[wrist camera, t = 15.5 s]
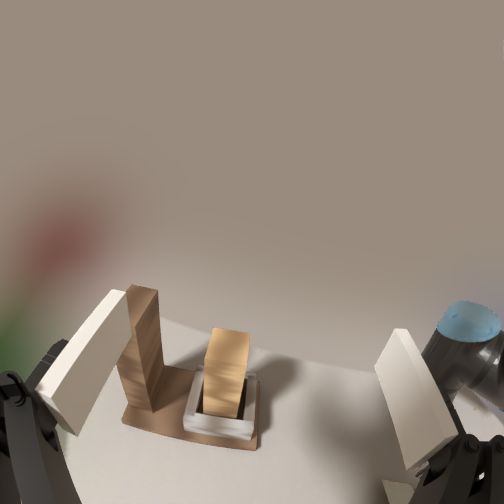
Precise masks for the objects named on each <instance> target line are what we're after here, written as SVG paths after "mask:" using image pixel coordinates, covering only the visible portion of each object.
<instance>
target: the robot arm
mask: <svg viewBox="0 0 504 504" xmlns="http://www.w3.org/2000/svg"><path fill="white" fill-rule="evenodd" d="M503 59H504V42H503ZM131 336H132V332H131V326H130V319H129V313H128V305H127V298H126V292H123V291H119V290H114V289H112V290H111V291H110V293H109V294H108V295H107V296H106V297H105V298H104V299H103V300H102V302H101V303H100V304H99V305H98V306H97V308H96V309H95V310H94V311H93V312H92V314H91V315H90V316H89V318H88V319H87V320H86V321H85V322H84V323H83V325H82V326H81V327H80V328H79V330H78V331H77V332H76V334H75V335H74V336H73V337H72V339H71V340H70V341H67V340H64V339H62V340H60V341H59V342H57V343H56V344H54V345H53V346H52V347H51V348H50V350H49V351H48V352H47V355H45V356H44V357H43V359H42V361H40V363H39V364H38V365H37V367H36V368H35V369H34V371H33V372H32V374H31V375H30V376H29V378H28V379H27V380H26V382H25V383H23V381H22V379H21V378H20V376H19V375H18V374H17V373H15V372H13V371H5V372H3V373H1V374H0V504H21V501H22V504H82V503H81V501H80V499H79V496H78V494H77V492H76V489H75V487H74V484H73V482H72V479H71V476H70V473H69V471H68V468H67V465H66V462H65V459H64V456H63V452H62V449H61V446H60V442H59V438H58V435H57V431H56V429H55V426H56V424H57V422H58V424H59V425H60V426H61V428H62V429H63V430H65V431H67V432H69V433H71V434H73V435H75V436H77V437H78V435H79V433H80V431H81V429H82V427H83V425H84V423H85V421H86V419H87V417H88V415H89V413H90V411H91V409H92V407H93V405H94V403H95V401H96V399H97V397H98V396H99V394H100V392H101V390H102V388H103V386H104V384H105V382H106V381H107V379H108V377H109V375H110V373H111V372H112V370H113V368H114V366H115V364H116V363H117V361H118V359H119V357H120V355H121V354H122V352H123V350H124V348H125V347H126V345H127V343H128V342H129V340H130V338H131ZM374 367H375V370H376V373H377V376H378V379H379V382H380V384H381V387H382V390H383V393H384V396H385V399H386V402H387V405H388V408H389V411H390V415H391V418H392V421H393V424H394V428H395V431H396V434H397V438H398V441H399V445H400V448H401V452H402V456H403V459H404V463H405V467H406V470H408V469H412V468H416V467H419V466H421V465H422V464H423V463H425V462H426V461H427V460H428V462H429V465H428V466H426V467H425V468H424V469H422V470H421V471H420V472H418V473H417V474H416V477H418V476H419V475H421V474H422V473H423V472H424V473H423V475H422V476H421V477H420V482H419V484H418V486H417V488H416V490H415V492H414V494H413V496H412V498H411V500H410V502H409V504H504V437H503V436H502V435H496V436H495V437H493V438H492V439H491V440H490V441H479V440H478V439H477V437H475V436H474V435H472V434H466V432H465V430H464V428H463V426H462V423H461V421H460V419H459V417H458V414H457V412H456V410H455V409H454V406H453V404H452V402H453V400H454V398H455V396H456V393H457V391H458V390H459V389H460V387H461V386H462V385H463V384H464V385H465V386H467V387H468V388H470V389H472V390H473V391H475V392H476V393H477V394H479V395H480V396H482V397H483V398H485V399H486V400H488V401H489V402H491V403H492V404H494V405H495V406H497V407H498V408H499V409H500V410H501V411H502V412H504V332H503V331H502V330H501V321H500V318H498V316H497V315H496V314H494V313H493V312H492V311H491V310H490V309H488V308H487V307H484V306H483V305H480V304H477V303H474V302H469V301H459V302H455V303H453V304H451V305H450V306H449V307H448V309H447V310H446V312H445V313H444V315H443V317H442V319H441V320H440V321H439V322H438V324H437V328H436V330H435V332H434V334H433V335H432V337H431V339H430V341H429V342H428V344H427V345H426V348H425V349H424V350H423V352H422V354H420V352H419V351H418V349H417V347H416V345H415V343H414V341H413V340H412V338H411V336H410V334H409V333H408V331H407V329H394V331H393V333H392V335H391V337H390V339H389V341H388V343H387V345H386V347H385V349H384V350H383V352H382V354H381V356H380V357H379V359H378V361H377V363H376V364H375V366H374ZM483 472H484V478H482V479H481V480H480V479H479V475H481V474H482V473H483ZM20 498H21V501H20Z"/></svg>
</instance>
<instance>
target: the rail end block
mask: <svg viewBox="0 0 504 504" xmlns="http://www.w3.org/2000/svg"><path fill="white" fill-rule="evenodd" d="M249 342H250V333H244V332H238V331H232V330H225V329H220V328H213V331H212V334H211V338H210V341H209V345H208V348H207V352H206V355H205V359H204V393H203V414H204V415H210V416H216V417H222V418H229V419H236V417H237V412H238V407H239V402H240V397H241V392H242V387H243V382H244V377H245V372H246V367H247V359H248V351H249Z"/></svg>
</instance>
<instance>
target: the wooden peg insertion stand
mask: <svg viewBox="0 0 504 504" xmlns="http://www.w3.org/2000/svg"><path fill="white" fill-rule="evenodd" d="M126 298H127V305H128V313H129V319H130V326H131V332H132V336H131V338H130V340H129V342H128V343H127V345H126V347H125V348H124V350H123V352H122V354H121V355H120V357H119V359H118V361H117V363H116V365H117V369H118V372H119V375H120V379H121V382H122V385H123V388H124V391H125V394H126V397H127V400H128V405H127V407H126V410H125V412H124V414H123V417H122V419H121V420H122V423H124V424H127V425H130V426H133V427H136V428H139V429H143V430H146V431H149V432H153V433H157V434H160V435H164V436H168V437H172V438H177V439H181V440H186V441H190V442H195V443H201V444H206V445H212V446H218V447H225V448H232V449H241V450H250V451H255V450H256V445H257V427H258V408H259V388H260V382H259V381H257V373H251V372H245V377H244V382H243V387H242V392H241V397H240V402H239V407H238V412H237V417H236V419H229V418H222V417H216V416H210V415H204V414H203V393H204V365H200V364H198V365H197V369H196V372H194V371H189V370H184V369H179V368H175V367H170V366H166V365H164V361H163V352H162V342H161V331H160V318H159V303H158V290H156V289H150V288H145V287H141V286H136V285H131V286H130V287H129V289H128V290H127V291H126Z"/></svg>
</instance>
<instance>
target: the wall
mask: <svg viewBox="0 0 504 504" xmlns="http://www.w3.org/2000/svg"><path fill="white" fill-rule="evenodd" d="M381 481H382V483H383V485H384V488H385V491H386V495H387V498H388V501H389V504H409V502H410V500H411V498H412V496H413V494H414V492H415V490H413V488H412V486H411V484H409V483H401V482H393V481H390V480H383V479H381Z"/></svg>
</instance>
